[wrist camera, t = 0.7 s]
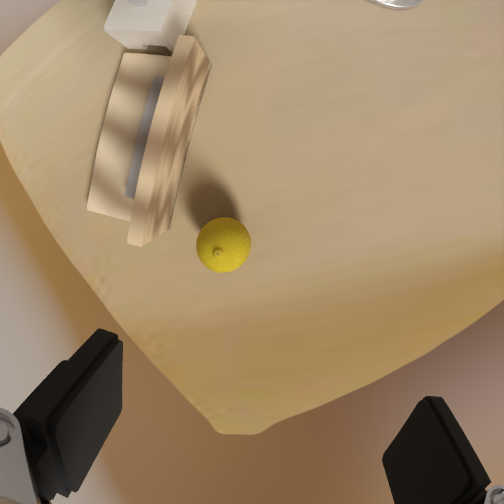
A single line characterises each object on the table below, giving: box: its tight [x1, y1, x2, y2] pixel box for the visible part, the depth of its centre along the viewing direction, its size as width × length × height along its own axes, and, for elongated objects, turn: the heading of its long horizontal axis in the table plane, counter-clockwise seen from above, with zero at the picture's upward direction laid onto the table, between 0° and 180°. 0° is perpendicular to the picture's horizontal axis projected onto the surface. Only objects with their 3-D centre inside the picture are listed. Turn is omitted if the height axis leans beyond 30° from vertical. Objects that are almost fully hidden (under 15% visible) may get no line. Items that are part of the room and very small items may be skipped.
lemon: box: [196, 217, 251, 273], centre depth 33 cm, size 6×6×8 cm
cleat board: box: [87, 35, 211, 247], centre depth 30 cm, size 20×11×9 cm, turn 165°
